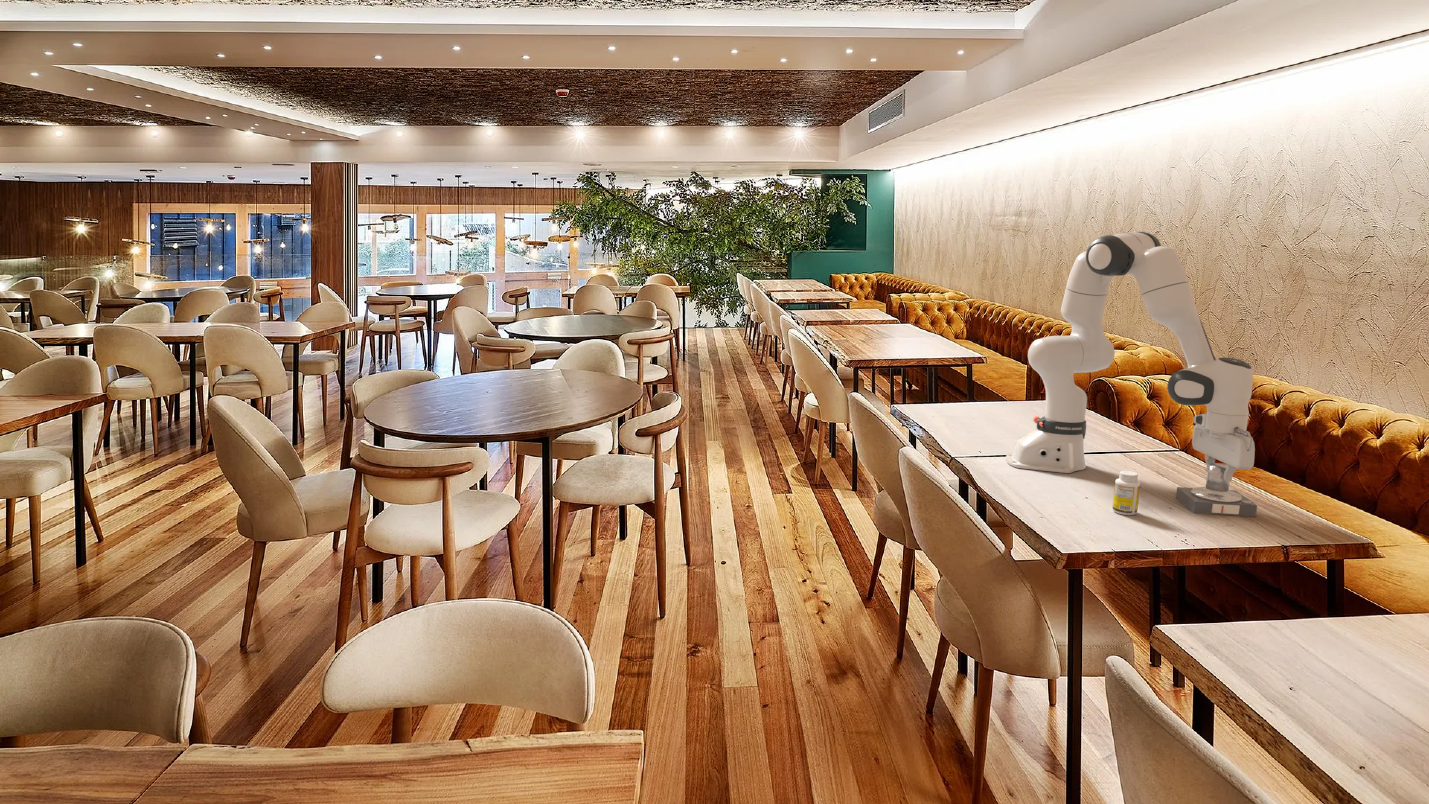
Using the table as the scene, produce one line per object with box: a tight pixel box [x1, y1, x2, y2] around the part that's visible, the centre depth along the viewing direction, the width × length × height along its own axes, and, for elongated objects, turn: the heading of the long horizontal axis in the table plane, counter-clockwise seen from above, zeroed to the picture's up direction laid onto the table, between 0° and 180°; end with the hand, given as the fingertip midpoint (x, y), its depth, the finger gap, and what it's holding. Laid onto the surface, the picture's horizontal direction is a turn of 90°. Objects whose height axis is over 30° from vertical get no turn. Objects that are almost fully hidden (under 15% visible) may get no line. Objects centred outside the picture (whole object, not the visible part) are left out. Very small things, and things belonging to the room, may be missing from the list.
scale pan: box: [1191, 486, 1242, 503], centre depth 206 cm, size 11×11×1 cm
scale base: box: [1175, 486, 1258, 518], centre depth 206 cm, size 14×12×3 cm
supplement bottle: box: [1112, 470, 1141, 516], centre depth 201 cm, size 6×6×10 cm
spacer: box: [1205, 462, 1231, 492], centre depth 205 cm, size 5×5×6 cm
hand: (1218, 476), depth 205 cm, fingers closed on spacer, 5 cm apart
